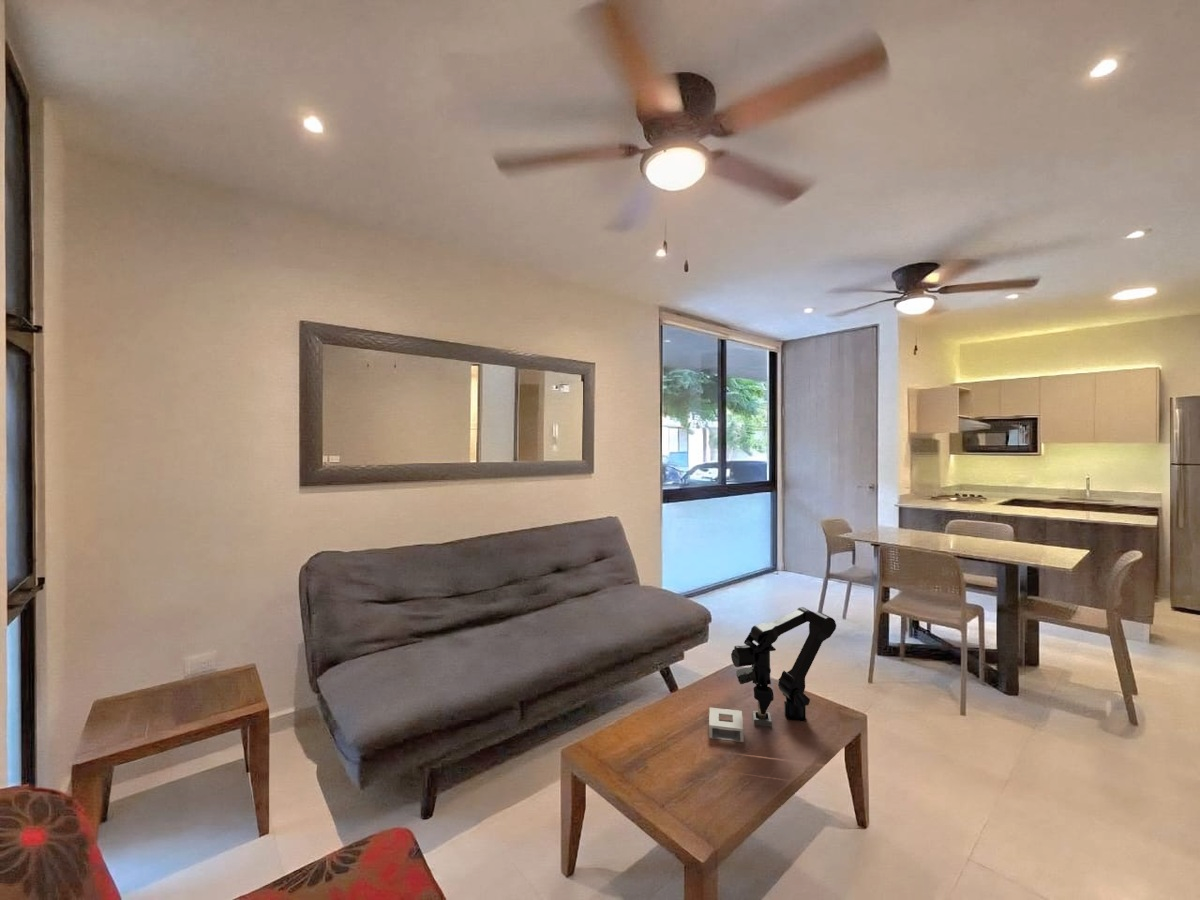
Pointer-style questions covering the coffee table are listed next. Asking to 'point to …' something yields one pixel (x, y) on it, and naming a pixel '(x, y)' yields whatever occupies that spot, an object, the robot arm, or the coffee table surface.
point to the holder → (762, 721)
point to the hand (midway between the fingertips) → (761, 706)
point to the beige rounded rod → (760, 716)
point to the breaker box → (726, 725)
